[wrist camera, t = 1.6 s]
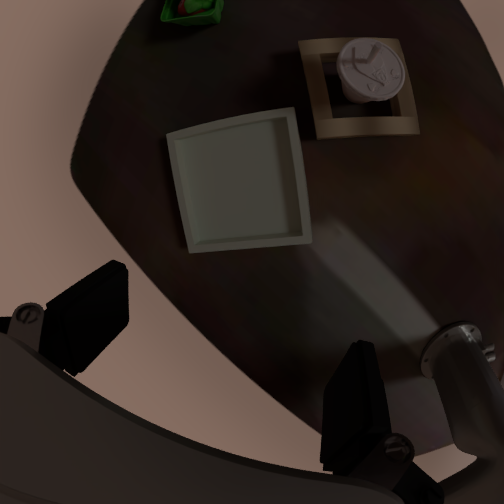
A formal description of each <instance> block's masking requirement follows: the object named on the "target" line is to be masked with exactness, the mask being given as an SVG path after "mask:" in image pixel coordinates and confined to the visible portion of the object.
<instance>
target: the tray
mask: <svg viewBox="0 0 504 504" xmlns="http://www.w3.org/2000/svg"><path fill="white" fill-rule="evenodd" d="M166 137H167V143H168V149H169V155H170V161H171V167H172V172H173V178H174V183H175V188H176V194H177V199H178V204H179V209H180V213H181V218H182V223H183V228H184V232H185V237H186V241H187V245H188V250H189V253H198V252H210V251H222V250H235V249H247V248H259V247H272V246H284V245H297V244H310V243H312V229H311V219H310V210H309V201H308V193H307V185H306V177H305V170H304V163H303V156H302V149H301V142H300V136H299V130H298V124H297V118H296V112H295V109H294V107H289V108H282V109H275V110H268V111H262V112H257V113H251V114H246V115H241V116H236V117H231V118H226V119H222V120H218V121H213V122H209V123H205V124H201V125H197V126H193V127H190V128H186V129H182V130H179V131H175V132H172V133H169V134H166Z"/></svg>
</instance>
